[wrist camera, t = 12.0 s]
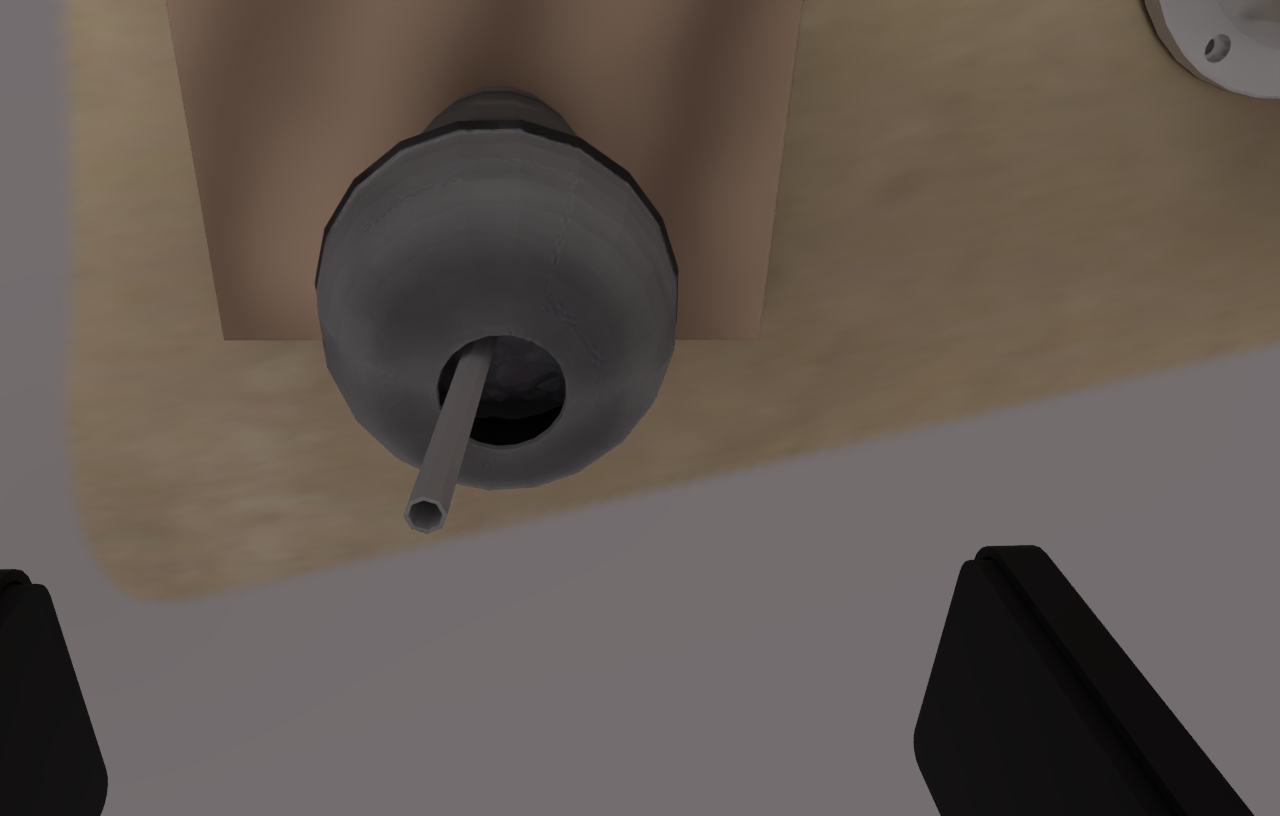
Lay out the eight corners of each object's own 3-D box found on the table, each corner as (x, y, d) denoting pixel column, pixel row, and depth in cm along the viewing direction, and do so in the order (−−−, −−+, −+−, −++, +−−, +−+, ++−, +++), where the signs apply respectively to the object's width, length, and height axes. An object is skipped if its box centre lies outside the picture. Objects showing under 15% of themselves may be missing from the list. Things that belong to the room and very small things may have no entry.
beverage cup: (512, 315, 31) (524, 842, 14) (330, 166, 28) (52, 602, 11) (666, 158, 29) (906, 537, 12) (490, -22, 26) (468, 140, 9)
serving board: (793, -38, 28) (807, -35, 27) (749, 322, 34) (759, 339, 33) (170, -74, 26) (153, -72, 25) (235, 321, 32) (224, 340, 30)
